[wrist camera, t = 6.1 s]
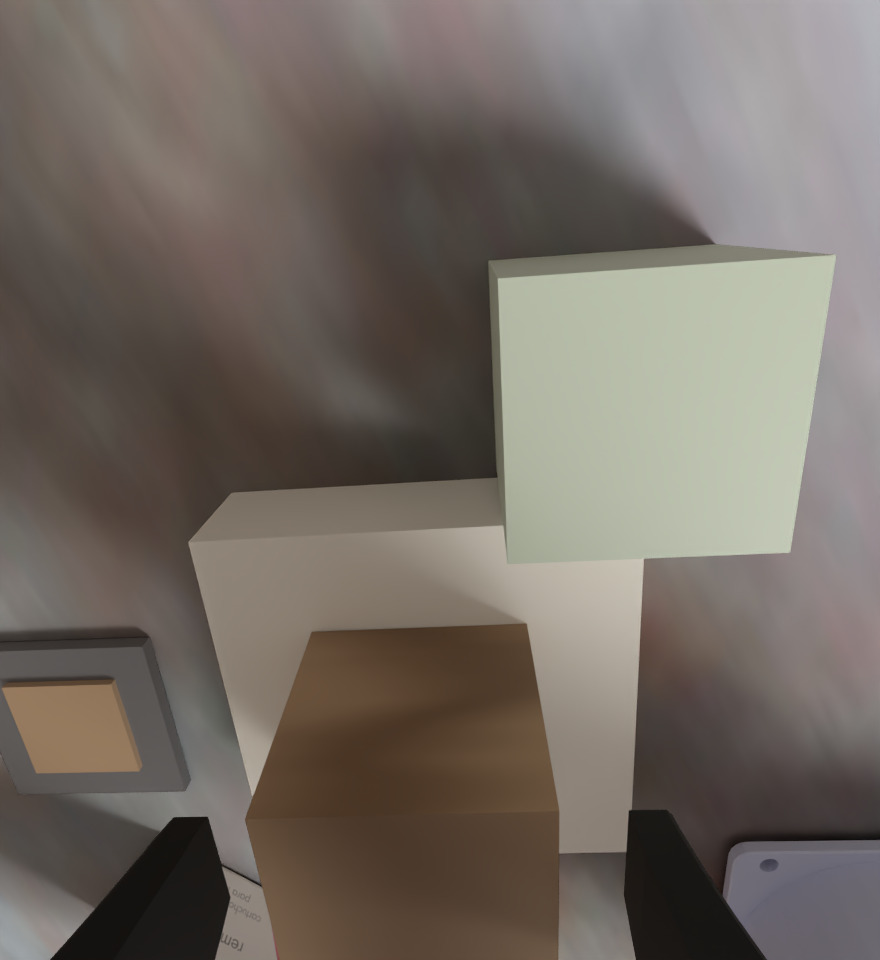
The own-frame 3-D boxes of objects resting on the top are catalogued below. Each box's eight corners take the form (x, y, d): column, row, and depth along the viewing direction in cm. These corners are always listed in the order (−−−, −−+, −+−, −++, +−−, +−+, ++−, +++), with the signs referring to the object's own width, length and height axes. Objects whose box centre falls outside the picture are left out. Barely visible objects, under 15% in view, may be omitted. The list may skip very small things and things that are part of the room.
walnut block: (527, 623, 13) (559, 811, 9) (529, 785, 15) (557, 1007, 11) (311, 631, 13) (244, 819, 9) (338, 791, 15) (292, 1010, 11)
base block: (612, 463, 15) (645, 517, 12) (604, 756, 18) (629, 851, 15) (238, 485, 15) (188, 541, 13) (297, 765, 19) (268, 859, 16)
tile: (149, 637, 17) (138, 651, 16) (190, 780, 18) (182, 797, 18) (-31, 643, 17) (-49, 658, 16) (27, 783, 19) (13, 800, 18)
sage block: (714, 243, 13) (836, 254, 8) (695, 456, 14) (790, 552, 10) (488, 260, 13) (498, 278, 9) (496, 466, 15) (507, 564, 10)
